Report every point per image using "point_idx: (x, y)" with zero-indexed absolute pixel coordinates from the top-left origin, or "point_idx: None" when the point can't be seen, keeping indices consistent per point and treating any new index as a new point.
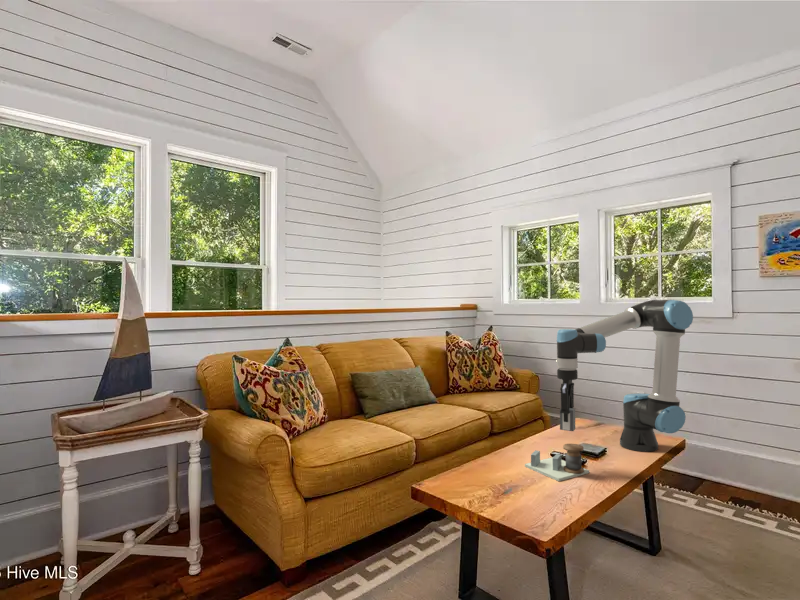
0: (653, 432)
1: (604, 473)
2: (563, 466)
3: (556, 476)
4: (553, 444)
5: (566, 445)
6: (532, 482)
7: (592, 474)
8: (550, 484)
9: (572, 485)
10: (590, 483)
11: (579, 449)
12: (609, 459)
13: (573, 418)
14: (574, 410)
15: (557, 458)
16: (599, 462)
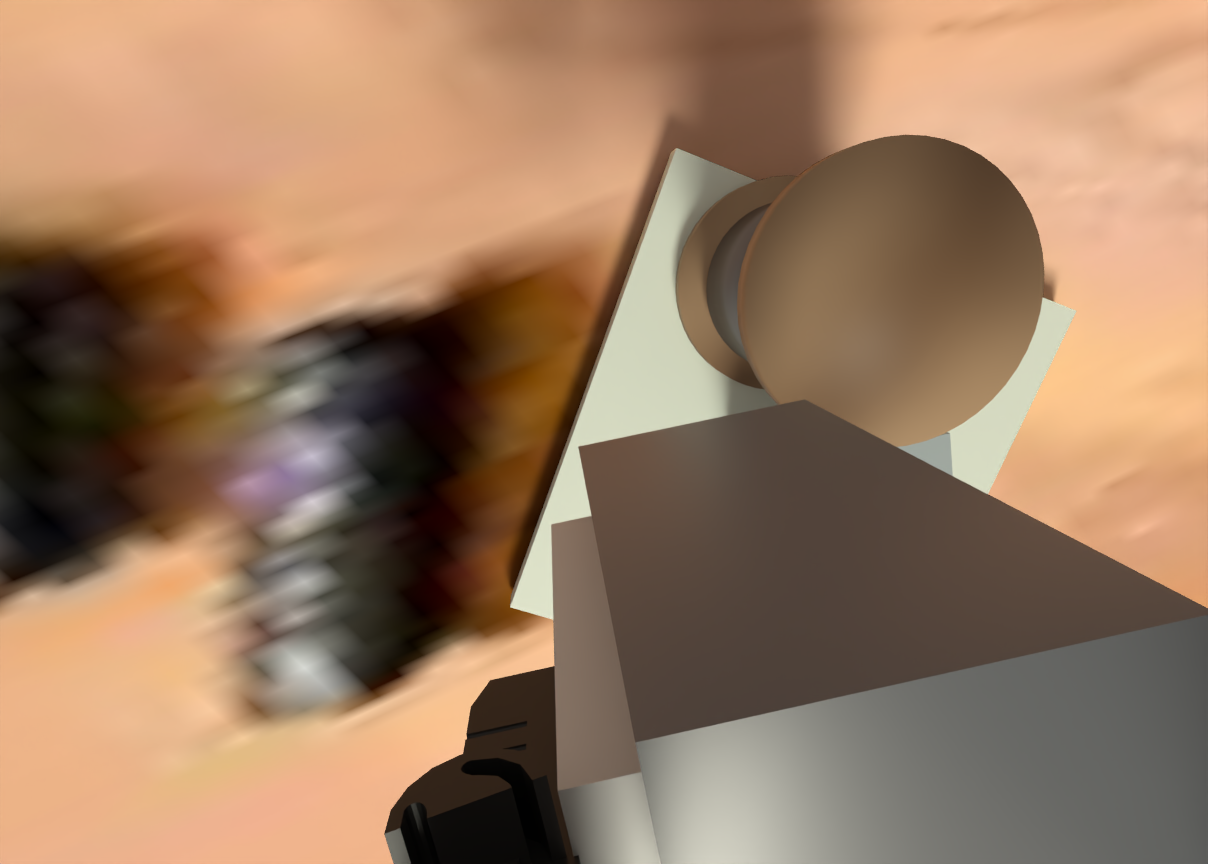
0: None
1: (565, 15)
2: (731, 413)
3: (1034, 349)
4: (49, 814)
5: (901, 403)
6: (1172, 479)
7: (676, 116)
8: (1142, 341)
9: (1068, 169)
10: (930, 41)
11: (984, 161)
12: (55, 127)
13: (916, 489)
14: (829, 657)
15: (932, 440)
16: (252, 189)
